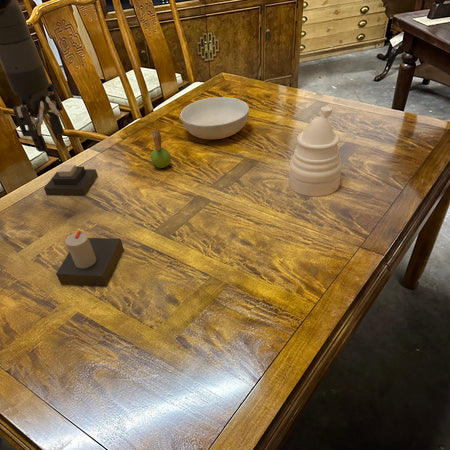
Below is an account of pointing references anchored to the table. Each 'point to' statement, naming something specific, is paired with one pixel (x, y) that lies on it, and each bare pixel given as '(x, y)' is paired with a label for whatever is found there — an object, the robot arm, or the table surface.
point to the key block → (72, 183)
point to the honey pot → (316, 159)
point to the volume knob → (81, 250)
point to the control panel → (97, 273)
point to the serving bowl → (215, 117)
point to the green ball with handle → (159, 152)
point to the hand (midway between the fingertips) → (51, 142)
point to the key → (67, 170)
